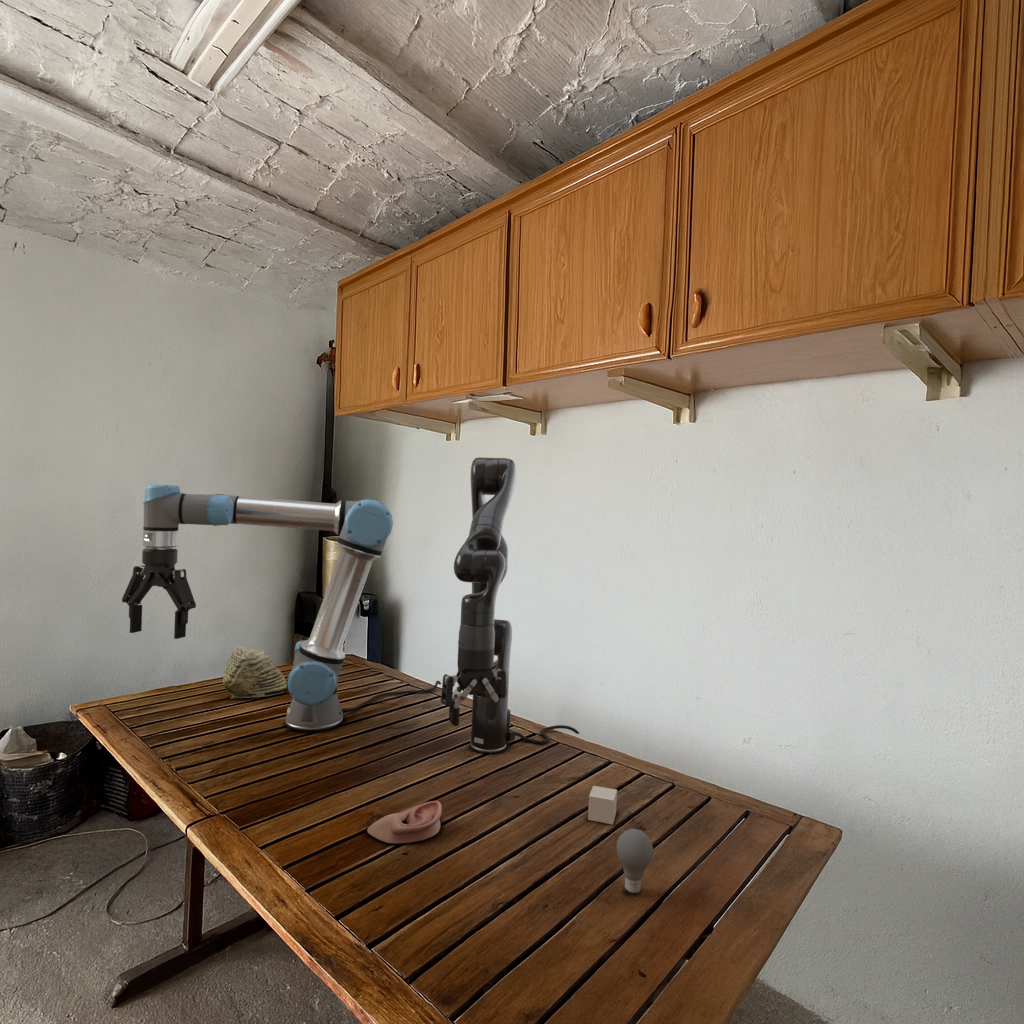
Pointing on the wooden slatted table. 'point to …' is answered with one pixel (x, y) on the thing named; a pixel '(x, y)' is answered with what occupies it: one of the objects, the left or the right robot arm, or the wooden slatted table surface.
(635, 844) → the light bulb
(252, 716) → the wooden slatted table surface
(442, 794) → the wooden slatted table surface
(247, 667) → the fossil
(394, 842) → the anatomical model
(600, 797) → the block
